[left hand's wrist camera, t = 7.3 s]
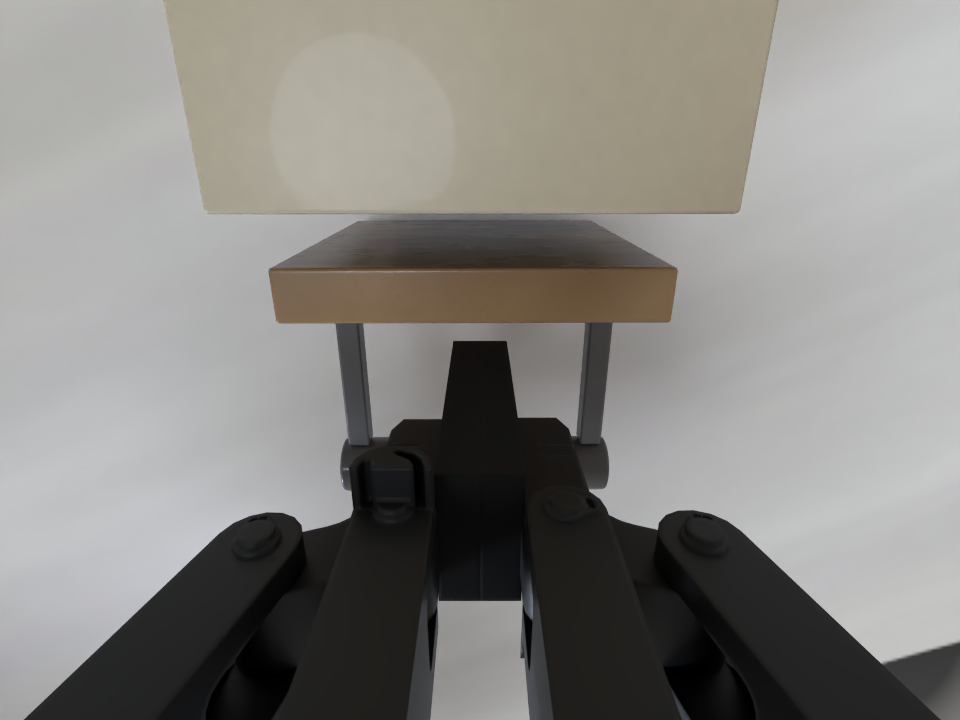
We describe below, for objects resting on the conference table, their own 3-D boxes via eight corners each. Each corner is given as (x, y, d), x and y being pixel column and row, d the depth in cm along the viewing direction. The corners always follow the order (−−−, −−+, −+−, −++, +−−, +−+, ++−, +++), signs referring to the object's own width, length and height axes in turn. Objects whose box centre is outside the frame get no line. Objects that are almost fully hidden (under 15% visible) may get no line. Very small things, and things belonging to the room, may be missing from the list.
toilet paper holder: (577, 397, 21) (639, 541, 13) (372, 398, 21) (309, 543, 13) (637, -357, 13) (887, -1148, 5) (305, -360, 13) (41, -1166, 5)
